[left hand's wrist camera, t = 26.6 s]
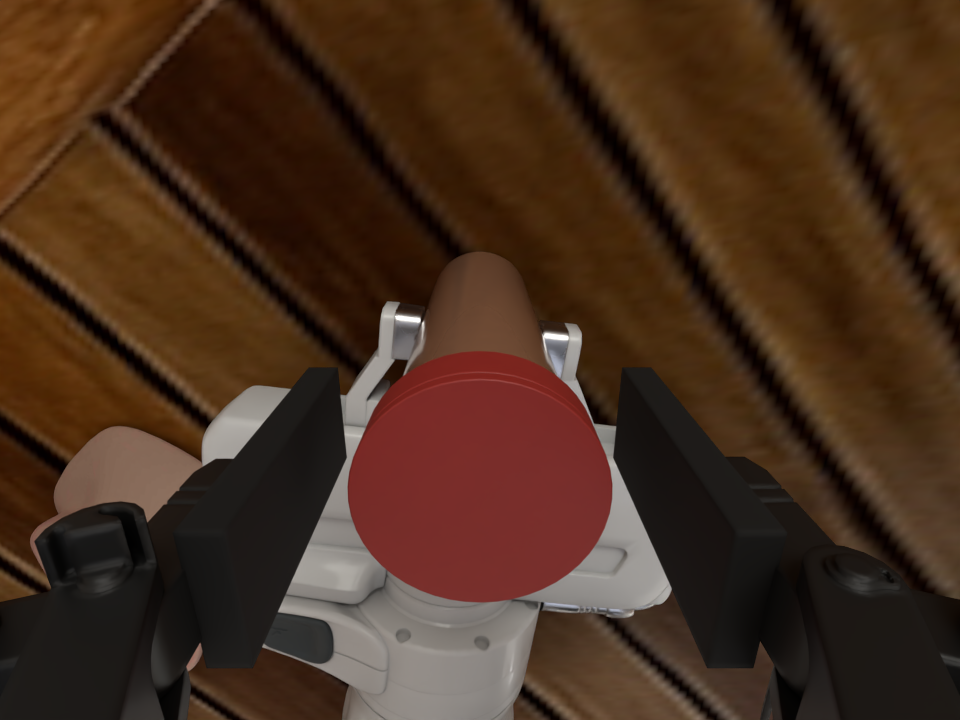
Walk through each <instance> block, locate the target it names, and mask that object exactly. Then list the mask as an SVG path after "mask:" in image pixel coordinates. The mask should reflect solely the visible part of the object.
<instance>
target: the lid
mask: <svg viewBox="0 0 960 720" xmlns="http://www.w3.org/2000/svg"><path fill="white" fill-rule="evenodd" d="M347 488H348V504H349V509H350V514H351V517H352V520H353V523H354V526H355V529H356V531H357V533H358V535H359V537H360V539H361V540H362V542H363V544H364V545H365V547H366V548H367V549H368V551H369V552H370V554H371V555H372V556H373V557H374V558H375V559H376V560H377V561H378V562H379V563H380V564H381V566H383V567H384V568H385V569H386V570H387V571H389V572H390V573H391V574H392V575H394V576H395V577H397V578H398V579H400V580H401V581H403V582H404V583H406V584H408V585H410V586H412V587H414V588H416V589H418V590H420V591H423V592H425V593H428V594H431V595H434V596H437V597H441V598H445V599H449V600H455V601H462V602H478V603H484V602H499V601H505V600H511V599H515V598H519V597H523V596H526V595H529V594H532V593H535V592H537V591H540V590H542V589H544V588H546V587H548V586H550V585H552V584H554V583H556V582H557V581H559V580H560V579H562V578H563V577H565V576H566V575H568V574H569V573H570V572H572V571H573V570H574V569H575V568H576V567H577V566H579V565H580V564H581V563H582V561H583V560H584V559H585V558H586V557H587V556H588V555H589V554H590V553H591V551H592V550H593V548H594V547H595V545H596V544H597V542H598V541H599V539H600V537H601V535H602V533H603V531H604V529H605V526H606V523H607V520H608V517H609V514H610V509H611V504H612V488H613V484H612V477H611V470H610V466H609V463H608V460H607V456H606V454H605V451H604V449H603V447H602V444H601V442H600V440H599V437H598V435H597V433H596V430H595V428H594V426H593V423H592V421H591V419H590V417H589V415H588V413H587V410H586V408H585V407H584V405H583V404H582V402H581V401H580V399H579V398H578V396H577V395H576V394H575V393H574V392H573V391H572V389H571V388H570V387H569V386H568V385H567V384H566V383H565V382H563V381H562V380H561V379H560V378H559V377H557V376H556V375H555V374H553V373H552V372H550V371H549V370H547V369H545V368H544V367H542V366H540V365H538V364H536V363H534V362H531V361H529V360H527V359H524V358H520V357H517V356H514V355H510V354H504V353H499V352H488V351H472V352H461V353H456V354H451V355H446V356H443V357H440V358H437V359H434V360H431V361H429V362H426V363H424V364H422V365H420V366H418V367H416V368H415V369H413V370H412V371H410V372H408V373H407V374H405V375H404V376H403V377H401V378H400V379H399V380H398V381H397V382H396V383H394V384H393V385H392V386H391V387H390V388H389V390H388V391H387V392H386V393H385V394H384V395H383V396H382V398H381V399H380V401H379V402H378V404H377V405H376V407H375V409H374V410H373V413H372V415H371V417H370V419H369V421H368V424H367V426H366V428H365V431H364V433H363V435H362V438H361V440H360V442H359V445H358V447H357V449H356V452H355V454H354V456H353V460H352V463H351V467H350V470H349V477H348V486H347Z"/></svg>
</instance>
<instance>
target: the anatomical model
mask: <svg viewBox="0 0 960 720" xmlns="http://www.w3.org/2000/svg"><path fill="white" fill-rule="evenodd" d="M201 467H203V466H202V462H200V461H199V460H198V459H196V458H195V457H193V456H191V455H189V454H188V453H186V452H184V451H183V450H181V449H179V448H177V447H175V446H173V445H172V444H170V443H168V442H166V441H164V440H162V439H160V438H158V437H155V436H153V435H151V434H148V433H146V432H144V431H141V430H138V429H135V428H130V427H125V426H115V427H110V428H107V429H105V430H103V431H101V432H100V433H98V434H97V435H96V436H95V437H93V438H92V439H91V440H90V441H89V442H88V443H87V444H86V445H85V446H84V447H83V448H82V449H81V450H80V451H79V452H78V453H77V454H76V456H75V457H74V458H73V459H72V460H71V461H70V463H69V464H68V465H67V467H66V469H65V470H64V472H63V474H62V476H61V477H60V479H59V481H58V483H57V485H56V488H55V491H54V502H55V506H56V509H57V511H58V515H57V516H55V517H53V518H51V519H49V520H47V521H46V522H44V523H42V524H41V525H40V526H38V527H37V528H36V529H35V531H34V532H33V534H32V536H31V539H30V544H31V548H32V550H33V552H34V554H35V556H36V558H37V560H38V561H39V563H40V565H41V567H42V568H43V570H44V572H45V569H44V567H43V564H42V561H41V559H40V556H39V553H38V550H37V548H36V545H35V542H34V541H35V540H36V539H37V537H38V536H39V535H40V534H41V533H42V532H43V531H44V530H45V529H46V528H47V527H49V526H50V525H52V524H53V523H55V522H56V521H58V520H59V519H61V518H63V517H65V516H67V515H69V514H72V513H74V512H76V511H78V510H81V509H83V508H87V507H91V506H94V505H98V504H101V503H109V502H119V501H123V502H130V503H136V504H137V505H139V506H140V507H141V508H143V509H144V512H145V516H146V519H147V522H148V521H149V520H150V519H151V518H152V517H153V516H154V515H155V514H156V513H157V511H158V510H159V509H160V508H161V507H162V506H163V505H164V504H167V501H168V500H169V498H170V497H171V496H172V495H173V494H174V493H175V492H176V491H179V488H180V486H181V485H182V484H183V483H184V482H185V481H186V480H187V479H188V478H189V477H190V476H191V475H192V473H193V472H195V471H196V470H198V469H200V468H201ZM45 573H46V572H45ZM202 652H203V651H202V647H201V644H199V646H198V647H197V649H196V651H195V652H194V654H193V656H192V658H191V659H190V661H189V663H188V665H187V666H186V667H187V670H188V671H190V670H191V669H192V668H193V667H194V666H195V665H196V664H197V663H198V661H199V659H200V657H201V655H202Z"/></svg>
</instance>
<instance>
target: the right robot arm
mask: <svg viewBox="0 0 960 720" xmlns="http://www.w3.org/2000/svg"><path fill="white" fill-rule="evenodd" d="M424 314H425V306H419V305H412V304H404V303H400V302H388V301H387V303H386V304H385V306H384V307H383V310H382V314H381V320H380V333H379V347H378V349H377V350H376V351H375V353H374V354H373V356H372V357H371V358H370V360H369V361H368V362H367V364H366V365H365V367H364V368H363V369H362V371H361V372H360V373H359V375H358V376H357V378H356V380H355V382H354V383H353V385H352V387H351V389H350V390H349V392H348V394H347V395H341V405H342V414H343V424H344V434H345V443H346V453H347V459H346V461H345V463H344V465H343V468H342V470H341V472H340V474H339V477H338V479H337V481H336V483H335V486H334V488H333V490H332V492H331V494H330V497H329V499H328V501H327V503H326V506H325V508H324V510H323V512H322V515H321V517H320V519H319V521H318V524H317V526H316V528H315V530H314V532H313V535H312V537H311V539H310V541H309V544H308V546H307V548H306V550H305V553H304V555H303V557H302V559H301V561H300V564H299V566H298V568H297V570H296V573H295V575H294V577H293V579H292V582H291V584H290V586H289V588H288V590H287V593H286V595H285V597H284V599H283V602H282V604H281V606H280V608H279V611H278V613H277V615H276V617H275V620H274V622H273V624H272V626H271V628H270V631H269V633H268V635H267V637H266V640H265V642H264V644H263V646H262V647H263V648H266V649H269V650H272V651H275V652H278V653H281V654H283V655H286V656H289V657H292V658H294V659H297V660H300V661H302V662H305V663H307V664H310V665H312V666H314V667H316V668H319V669H321V670H323V671H325V672H327V673H329V674H331V675H333V676H335V677H337V678H339V679H340V680H342V681H344V682H346V683H347V684H349V687H348V690H347V693H346V698H345V703H344V708H343V716H342V720H514V711H513V704H514V702H515V700H516V698H517V696H518V694H519V692H520V690H521V687H522V684H523V681H524V677H525V673H526V669H527V664H528V660H529V655H530V651H531V646H532V641H533V637H534V632H535V628H536V623H537V619H538V614H539V612H540V610H541V611H551V612H561V613H596V614H604V616H607V617H612V618H627V617H632V616H633V614H634V611H635V610H642V609H646V608H649V607H651V606H654V605H655V604H657V605H658V604H662V603H663V602H664V601H665V600H666V599H667V598H668V596H669V594H670V592H671V589H672V588H671V586H670V584H669V582H668V579H667V577H666V575H665V573H664V570H663V568H662V566H661V564H660V561H659V559H658V557H657V555H656V553H655V550H654V548H653V546H652V544H651V541H650V539H649V537H648V535H647V532H646V530H645V528H644V526H643V524H642V521H641V519H640V517H639V515H638V512H637V510H636V508H635V506H634V503H633V501H632V499H631V497H630V494H629V492H628V490H627V488H626V486H625V483H624V481H623V479H622V477H621V474H620V472H619V470H618V468H617V465H616V463H615V461H614V459H613V453H614V443H615V434H616V426H608V425H599V424H594V423H593V420H592V418H591V415H590V412H589V410H588V407H587V404H586V402H585V399H584V396H583V394H582V391H581V389H580V386H579V383H578V381H577V378H576V376H575V375H576V370H577V365H578V360H579V355H580V350H581V345H582V333H581V331H580V329H579V327H578V326H577V324H569V323H561V322H552V321H543V320H540V322H539V326H540V328H541V331H542V334H543V337H544V339H545V342H546V345H547V348H548V351H549V353H550V356H551V359H552V362H553V364H554V367H555V370H556V373H557V375H558V377H559V378H560V379H561V380H562V381H563V382H565V383H566V384H567V385H568V386H569V387H570V388H571V389H572V391H573V392H574V393H575V394H576V395H577V396H578V398H579V399H580V401H581V402H582V404H583V405H584V407H585V408H586V410H587V413H588V415H589V417H590V419H591V421H592V423H593V426H594V428H595V430H596V433H597V435H598V437H599V440H600V442H601V444H602V447H603V449H604V451H605V454H606V456H607V460H608V463H609V466H610V470H611V477H612V484H613V488H612V504H611V509H610V514H609V517H608V520H607V523H606V526H605V529H604V531H603V533H602V535H601V537H600V539H599V541H598V542H597V544H596V545H595V547H594V548H593V550H592V551H591V553H590V554H589V555H588V556H587V557H586V558H585V559H584V560H583V561H582V563H581V564H580V565H579V566H577V567H576V568H575V569H574V570H573V571H572V572H570V573H569V574H568V575H566V576H565V577H563V578H562V579H560V580H559V581H557V582H556V583H554V584H552V585H550V586H548V587H546V588H544V589H542V590H540V591H537V592H535V593H532V594H529V595H526V596H523V597H519V598H515V599H511V600H505V601H499V602H484V603H478V602H462V601H455V600H449V599H445V598H441V597H437V596H434V595H431V594H428V593H425V592H423V591H420V590H418V589H416V588H414V587H412V586H410V585H408V584H406V583H404V582H403V581H401V580H400V579H398V578H397V577H395V576H394V575H392V574H391V573H390V572H389V571H387V570H386V569H385V568H384V567H383V566H381V564H380V563H379V562H378V561H377V560H376V559H375V558H374V557H373V556H372V555H371V554H370V552H369V551H368V549H367V548H366V547H365V545H364V544H363V542H362V540H361V539H360V537H359V535H358V533H357V531H356V529H355V526H354V523H353V520H352V517H351V514H350V509H349V504H348V488H347V486H348V477H349V470H350V467H351V463H352V460H353V456H354V454H355V452H356V449H357V447H358V445H359V442H360V440H361V438H362V435H363V433H364V431H365V428H366V426H367V424H368V421H369V419H370V417H371V415H372V413H373V410H374V409H375V407H376V405H377V404H378V402H379V401H380V399H381V398H382V396H383V395H384V394H385V393H386V392H387V391H388V390H389V388H390V381H389V380H387V379H381V378H382V377H383V376H384V374H385V373H386V371H387V370H388V369H389V367H390V366H391V365H392V363H393V362H394V360H395V359H402V360H408V359H409V356H410V353H411V351H412V348H413V345H414V342H415V340H416V337H417V334H418V331H419V328H420V326H421V323H422V320H423V317H424ZM290 390H291V389H286V388H277V387H269V386H252V387H250V388H248V389H246V390H245V391H244V392H242V393H241V394H240V395H239V396H238V397H236V398H235V399H234V400H233V401H232V402H230V403H229V404H228V405H227V406H226V407H225V408H224V409H223V410H222V411H221V412H220V413H219V414H218V415H217V416H216V418H215V419H214V420H213V421H212V422H211V424H210V425H209V427H208V428H207V430H206V432H205V434H204V437H203V441H202V466H205V465H206V464H208V463H209V462H211V461H213V460H214V459H234V458H235V456H236V455H237V454H238V453H239V452H240V450H241V449H242V448H243V447H244V445H245V444H246V443H247V442H248V441H249V439H250V438H251V437H252V436H253V435H254V433H255V432H256V431H257V430H258V429H259V427H260V426H261V425H262V424H263V423H264V421H265V420H266V419H267V418H268V416H269V415H270V414H271V413H272V412H273V410H274V409H275V408H276V407H277V406H278V404H279V403H280V402H281V401H282V400H283V398H284V397H285V396H286V395H287V393H288V392H289V391H290Z"/></svg>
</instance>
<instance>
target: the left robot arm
mask: <svg viewBox="0 0 960 720" xmlns="http://www.w3.org/2000/svg"><path fill="white" fill-rule="evenodd" d="M346 459H347V453H346V443H345V434H344V424H343V414H342V405H341V395H340V385H339V375H338V368H308V369H307V371H306V372H305V373H304V374H303V375H302V377H301V378H300V379H299V380H298V381H297V383H296V384H295V385H294V386H293V387H292V389H291V390H290V391H289V392H288V393H287V395H286V396H285V397H284V398H283V400H282V401H281V402H280V403H279V404H278V406H277V407H276V408H275V409H274V410H273V412H272V413H271V414H270V415H269V416H268V418H267V419H266V420H265V421H264V423H263V424H262V425H261V426H260V427H259V429H258V430H257V431H256V432H255V433H254V435H253V436H252V437H251V438H250V439H249V441H248V442H247V443H246V444H245V445H244V447H243V448H242V449H241V450H240V452H239V453H238V454H237V455H236V456H235V458H234V459H214V460H213V461H211V462H209V463H208V464H206V465H205V466H203V467H201V468H200V469H198V470H196V471H195V472H193V473H192V475H191V476H190V477H189V478H188V479H187V480H186V481H185V482H184V483H183V484H182V485H181V486H180V488H179V491H176V492H175V493H174V494H173V495H172V496H171V497H170V498H169V500H168V501H167V504H164V505H163V506H162V507H161V508H160V509H159V510H158V511H157V513H156V514H155V515H154V516H153V517H152V518H151V519H150V520H149V521H148V522H147V519H146V516H145V512H144V509H143V508H141V507H140V506H139V505H137V504H136V503H130V502H123V501H119V502H109V503H101V504H98V505H94V506H91V507H87V508H83V509H81V510H78V511H76V512H74V513H72V514H69V515H67V516H65V517H63V518H61V519H59V520H58V521H56V522H55V523H53V524H52V525H50V526H49V527H47V528H46V529H45V530H44V531H43V532H42V533H41V534H40V535H39V536H38V537H37V539H36V540H35V541H34V542H35V545H36V548H37V550H38V553H39V556H40V559H41V561H42V564H43V567H44V569H45V572H46V575H47V578H48V580H49V583H50V586H51V590H50V591H49V592H45V593H40V594H36V595H31V596H26V597H22V598H17V599H13V600H8V601H3V602H0V720H187V716H188V707H189V699H190V690H191V686H190V679H189V674H188V670H187V667H186V666H187V665H188V663H189V661H190V659H191V658H192V656H193V654H194V652H195V651H196V649H197V647H198V646H199V644H201V647H202V651H203V655H204V659H205V663H206V667H207V668H253V666H254V664H255V662H256V660H257V657H258V655H259V653H260V651H261V649H262V646H263V644H264V642H265V640H266V637H267V635H268V633H269V631H270V628H271V626H272V624H273V622H274V620H275V617H276V615H277V613H278V611H279V608H280V606H281V604H282V602H283V599H284V597H285V595H286V593H287V590H288V588H289V586H290V584H291V582H292V579H293V577H294V575H295V573H296V570H297V568H298V566H299V564H300V561H301V559H302V557H303V555H304V553H305V550H306V548H307V546H308V544H309V541H310V539H311V537H312V535H313V532H314V530H315V528H316V526H317V524H318V521H319V519H320V517H321V515H322V512H323V510H324V508H325V506H326V503H327V501H328V499H329V497H330V494H331V492H332V490H333V488H334V486H335V483H336V481H337V479H338V477H339V474H340V472H341V470H342V468H343V465H344V463H345V461H346ZM613 459H614V461H615V463H616V465H617V468H618V470H619V472H620V474H621V477H622V479H623V481H624V483H625V486H626V488H627V490H628V492H629V494H630V497H631V499H632V501H633V503H634V506H635V508H636V510H637V512H638V515H639V517H640V519H641V521H642V524H643V526H644V528H645V530H646V532H647V535H648V537H649V539H650V541H651V544H652V546H653V548H654V550H655V553H656V555H657V557H658V559H659V561H660V564H661V566H662V568H663V570H664V573H665V575H666V577H667V579H668V582H669V584H670V586H671V588H672V590H673V593H674V595H675V597H676V599H677V602H678V604H679V606H680V608H681V611H682V613H683V615H684V617H685V620H686V622H687V624H688V626H689V628H690V631H691V633H692V635H693V637H694V640H695V642H696V644H697V646H698V649H699V651H700V653H701V655H702V657H703V660H704V662H705V664H706V666H707V668H753V667H754V663H755V659H756V655H757V651H758V647H759V643H760V641H761V643H762V645H763V646H764V648H765V650H766V651H767V653H768V655H769V657H770V658H771V660H772V662H773V663H774V667H773V670H772V674H771V678H770V681H769V685H768V689H767V692H766V696H765V700H764V703H763V707H762V712H761V718H760V720H769V718H770V714H771V711H772V714H773V720H960V600H959V599H954V598H949V597H945V596H940V595H935V594H931V593H926V592H922V591H917V590H913V589H909V587H908V586H907V584H906V583H905V582H904V581H903V579H902V578H901V577H900V575H899V574H898V573H896V572H895V571H894V570H892V569H891V568H890V567H889V566H887V565H886V564H885V563H883V562H882V561H880V560H878V559H876V558H874V557H872V556H870V555H868V554H866V553H864V552H861V551H858V550H854V549H851V548H848V547H845V546H837V545H835V544H834V543H833V541H832V540H831V539H830V538H829V537H828V536H827V535H826V534H825V533H824V532H823V531H822V530H821V528H820V527H819V526H818V525H817V524H816V523H815V522H814V521H813V520H812V519H811V518H810V517H809V516H808V514H807V513H806V512H805V511H804V510H803V509H802V508H801V507H800V506H799V505H798V504H797V503H794V502H793V498H792V497H791V496H790V495H789V494H788V493H787V492H786V491H785V490H784V489H781V485H780V484H779V483H778V482H777V481H776V480H775V479H774V478H773V477H772V476H771V474H770V473H769V472H768V471H767V470H765V469H764V468H762V467H760V466H759V465H757V464H755V463H754V462H752V461H750V460H749V459H747V458H745V457H725V456H724V455H723V454H722V453H721V452H720V450H719V449H718V448H717V447H716V445H715V444H714V443H713V442H712V441H711V439H710V438H709V437H708V436H707V435H706V433H705V432H704V431H703V430H702V429H701V427H700V426H699V425H698V424H697V423H696V421H695V420H694V419H693V418H692V416H691V415H690V414H689V413H688V412H687V410H686V409H685V408H684V407H683V406H682V404H681V403H680V402H679V401H678V400H677V398H676V397H675V396H674V395H673V393H672V392H671V391H670V390H669V389H668V387H667V386H666V385H665V384H664V383H663V381H662V380H661V379H660V378H659V377H658V375H657V374H656V373H655V372H654V371H653V369H652V368H622V375H621V385H620V395H619V405H618V414H617V424H616V434H615V443H614V453H613Z"/></svg>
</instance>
